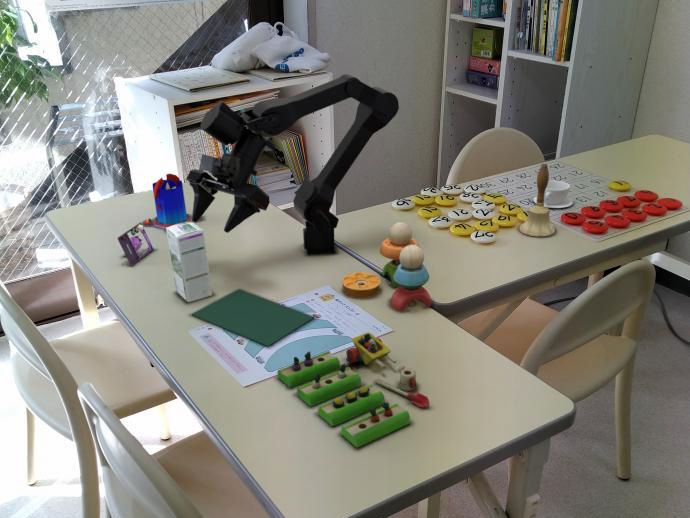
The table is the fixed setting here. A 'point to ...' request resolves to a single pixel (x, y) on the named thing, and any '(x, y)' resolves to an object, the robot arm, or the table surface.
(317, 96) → the robot arm
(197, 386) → the table surface
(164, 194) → the fantasy tower
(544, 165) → the hand bell
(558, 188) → the teacup
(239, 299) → the green mat
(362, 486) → the table surface
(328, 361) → the toy garden set
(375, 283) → the wooden stacking toy
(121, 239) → the game card
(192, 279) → the syrup box
